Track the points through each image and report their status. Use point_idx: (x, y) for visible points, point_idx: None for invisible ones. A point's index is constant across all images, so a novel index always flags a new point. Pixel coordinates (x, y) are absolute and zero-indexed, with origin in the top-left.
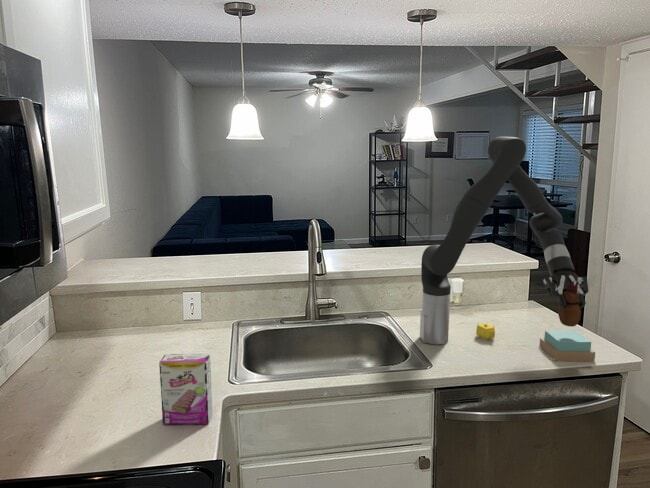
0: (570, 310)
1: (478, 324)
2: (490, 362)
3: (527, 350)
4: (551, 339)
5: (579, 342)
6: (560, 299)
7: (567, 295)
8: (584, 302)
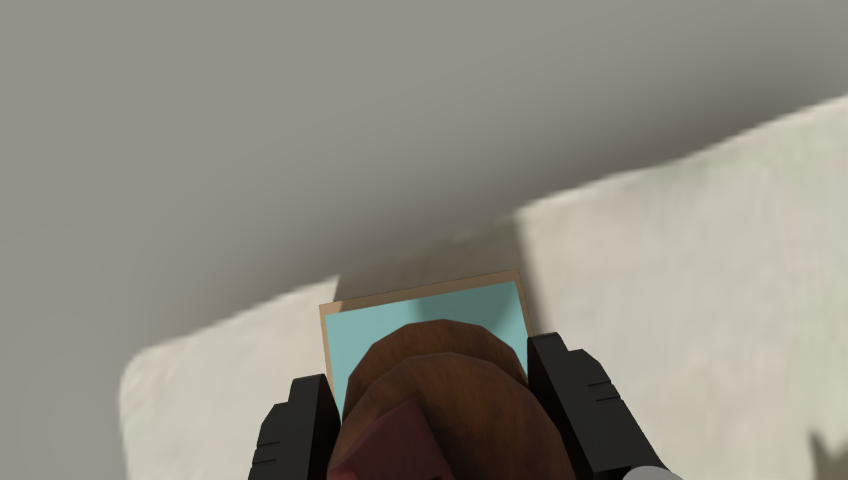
0: (471, 324)
1: None
2: (807, 215)
3: (625, 398)
4: None
5: (396, 302)
6: (611, 407)
7: (537, 405)
8: (278, 423)
